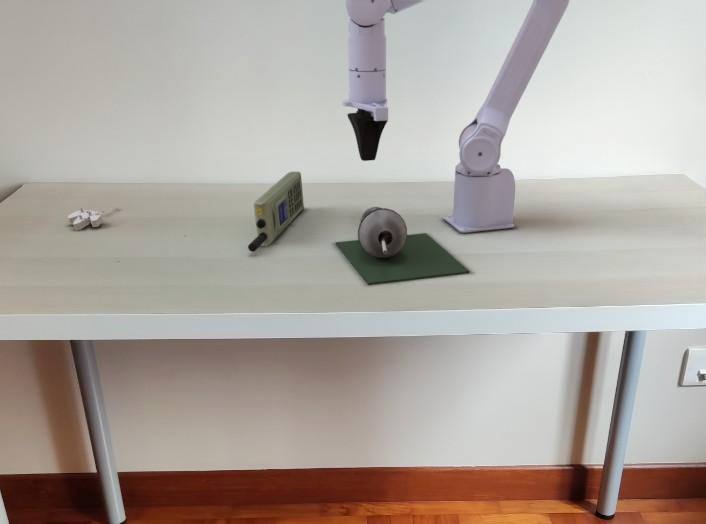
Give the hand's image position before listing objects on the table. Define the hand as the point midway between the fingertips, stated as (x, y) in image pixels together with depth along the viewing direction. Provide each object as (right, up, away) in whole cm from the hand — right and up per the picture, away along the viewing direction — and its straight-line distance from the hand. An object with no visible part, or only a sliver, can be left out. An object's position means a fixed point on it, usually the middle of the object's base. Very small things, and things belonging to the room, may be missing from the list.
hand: (367, 159), depth 131 cm
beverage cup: (+1, -10, -1) cm, 10 cm away
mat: (+5, -18, -10) cm, 21 cm away
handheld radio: (-15, -11, +2) cm, 19 cm away
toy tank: (-46, -8, +8) cm, 47 cm away
